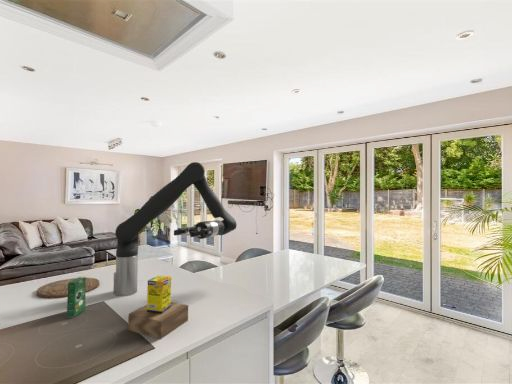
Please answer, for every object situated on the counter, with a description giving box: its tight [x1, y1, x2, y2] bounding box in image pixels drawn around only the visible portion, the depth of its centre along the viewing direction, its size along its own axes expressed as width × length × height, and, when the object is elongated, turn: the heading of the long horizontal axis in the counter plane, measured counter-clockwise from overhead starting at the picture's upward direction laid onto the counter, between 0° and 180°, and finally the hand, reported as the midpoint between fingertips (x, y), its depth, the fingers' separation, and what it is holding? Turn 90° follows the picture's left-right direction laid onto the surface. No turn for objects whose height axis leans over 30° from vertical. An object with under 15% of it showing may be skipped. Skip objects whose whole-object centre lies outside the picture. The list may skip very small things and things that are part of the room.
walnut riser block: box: [127, 301, 189, 340], centre depth 95 cm, size 14×14×6 cm
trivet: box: [36, 277, 100, 299], centre depth 131 cm, size 25×25×2 cm
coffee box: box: [66, 276, 87, 319], centre depth 104 cm, size 8×3×13 cm, turn 6°
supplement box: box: [146, 275, 172, 314], centre depth 95 cm, size 6×6×11 cm
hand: (182, 233), depth 109 cm, fingers open, 8 cm apart
